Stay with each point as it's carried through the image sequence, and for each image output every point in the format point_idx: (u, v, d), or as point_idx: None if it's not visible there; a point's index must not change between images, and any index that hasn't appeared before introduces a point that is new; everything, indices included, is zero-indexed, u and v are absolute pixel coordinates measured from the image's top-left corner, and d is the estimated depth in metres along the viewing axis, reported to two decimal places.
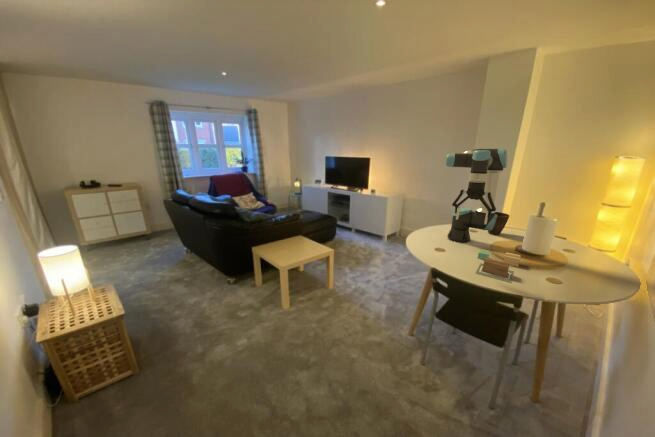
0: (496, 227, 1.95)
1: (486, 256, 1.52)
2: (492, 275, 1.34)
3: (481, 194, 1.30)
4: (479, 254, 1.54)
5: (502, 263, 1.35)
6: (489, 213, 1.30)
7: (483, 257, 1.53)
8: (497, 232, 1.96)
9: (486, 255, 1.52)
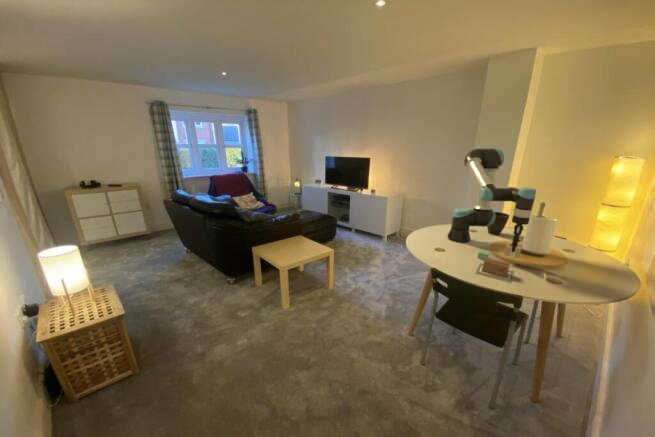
0: (496, 227, 1.95)
1: (486, 256, 1.52)
2: (492, 275, 1.34)
3: (516, 227, 1.41)
4: (479, 254, 1.54)
5: (502, 263, 1.35)
6: (512, 247, 1.43)
7: (483, 257, 1.53)
8: (497, 232, 1.96)
9: (486, 255, 1.52)
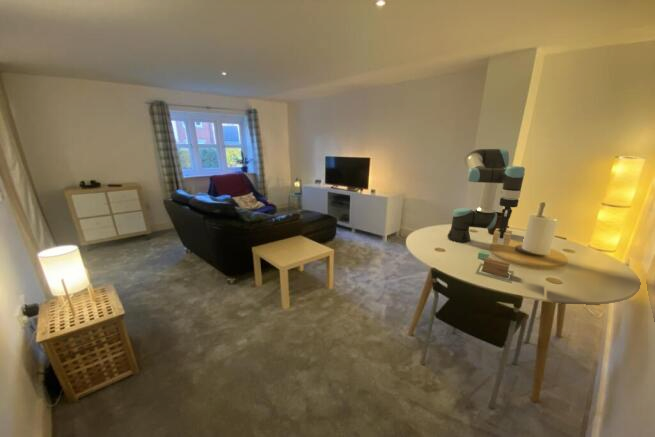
0: (496, 227, 1.95)
1: (486, 256, 1.52)
2: (492, 275, 1.34)
3: (504, 211, 1.27)
4: (479, 254, 1.54)
5: (502, 263, 1.35)
6: (500, 233, 1.28)
7: (483, 257, 1.53)
8: None
9: (486, 255, 1.52)
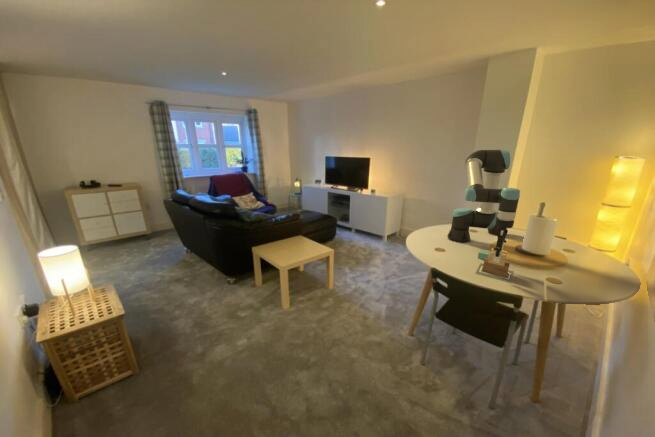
0: (496, 227, 1.95)
1: (486, 256, 1.52)
2: (492, 275, 1.34)
3: None
4: (479, 254, 1.54)
5: None
6: (496, 251, 1.28)
7: (483, 257, 1.53)
8: (497, 232, 1.96)
9: (486, 255, 1.52)
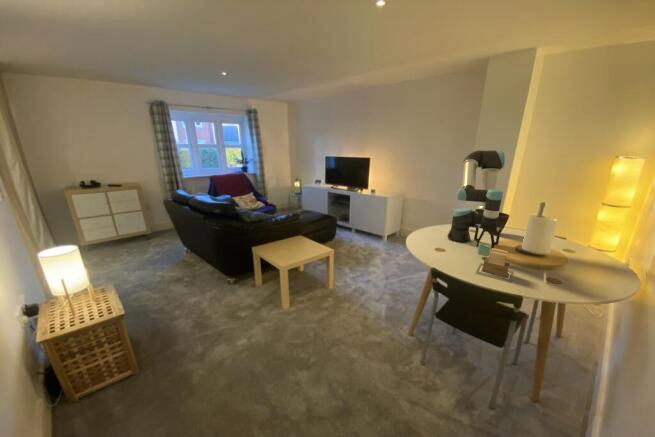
0: None
1: (487, 250, 1.51)
2: (492, 275, 1.34)
3: (493, 228, 1.48)
4: (480, 248, 1.53)
5: None
6: (492, 246, 1.51)
7: (484, 251, 1.52)
8: (497, 232, 1.96)
9: (487, 249, 1.51)
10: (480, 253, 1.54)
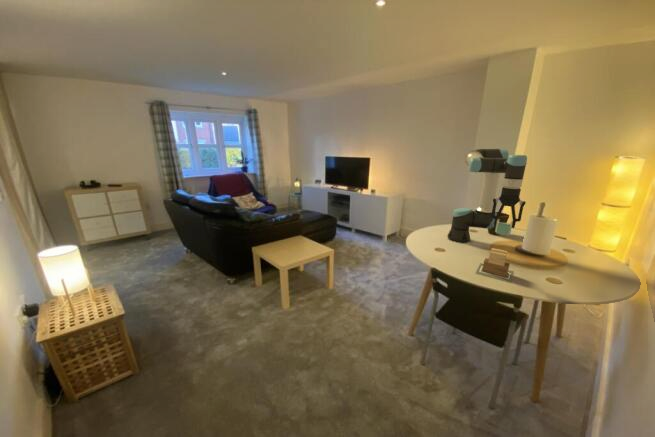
0: None
1: (507, 228, 1.27)
2: (492, 275, 1.34)
3: (515, 200, 1.24)
4: (499, 226, 1.30)
5: None
6: (513, 223, 1.27)
7: (504, 229, 1.28)
8: None
9: (507, 227, 1.27)
10: (499, 232, 1.30)
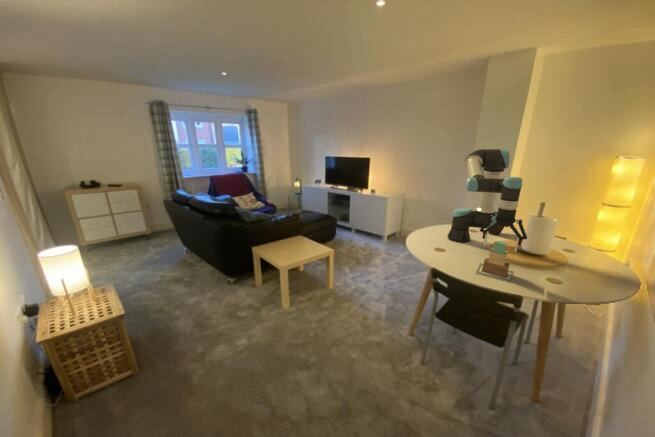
0: (496, 227, 1.95)
1: (503, 247, 1.30)
2: (492, 275, 1.34)
3: (512, 221, 1.27)
4: (495, 245, 1.32)
5: None
6: (520, 241, 1.27)
7: (500, 248, 1.31)
8: (497, 232, 1.96)
9: (503, 246, 1.30)
10: (495, 251, 1.33)
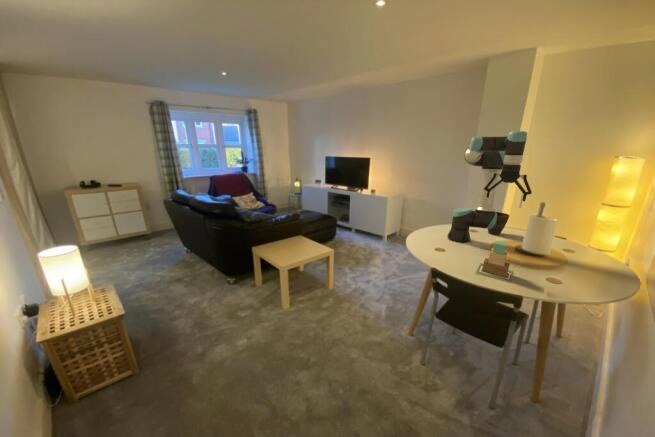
0: (496, 227, 1.95)
1: (503, 247, 1.30)
2: (492, 275, 1.34)
3: (516, 177, 1.27)
4: (495, 245, 1.32)
5: None
6: (524, 196, 1.27)
7: (500, 248, 1.31)
8: (497, 232, 1.96)
9: (503, 246, 1.30)
10: (495, 251, 1.33)
